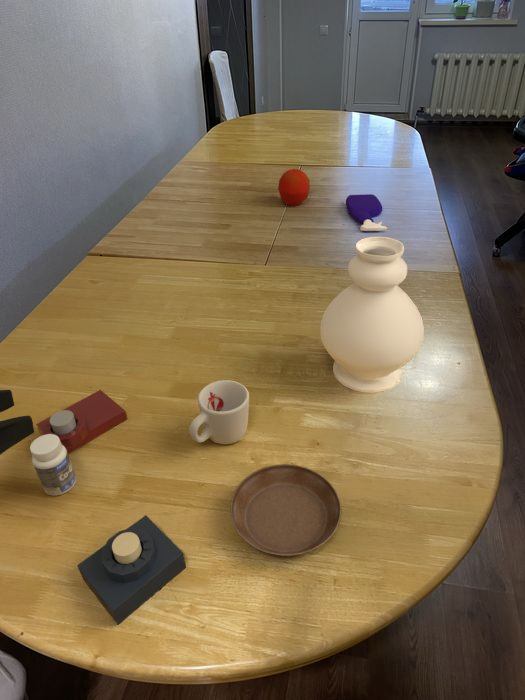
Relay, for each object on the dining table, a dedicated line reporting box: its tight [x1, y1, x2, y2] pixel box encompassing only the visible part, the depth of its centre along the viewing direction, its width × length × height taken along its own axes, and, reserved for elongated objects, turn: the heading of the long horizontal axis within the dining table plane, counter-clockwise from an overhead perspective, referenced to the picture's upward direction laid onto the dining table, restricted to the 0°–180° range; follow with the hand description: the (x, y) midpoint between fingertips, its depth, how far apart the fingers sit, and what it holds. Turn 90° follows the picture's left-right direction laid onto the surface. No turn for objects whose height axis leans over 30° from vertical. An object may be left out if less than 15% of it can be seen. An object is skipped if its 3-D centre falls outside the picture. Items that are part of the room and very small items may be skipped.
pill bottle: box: [29, 434, 77, 497], centre depth 74 cm, size 5×5×8 cm
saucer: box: [229, 463, 342, 557], centre depth 70 cm, size 15×15×3 cm
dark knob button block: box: [76, 514, 187, 626], centre depth 63 cm, size 10×8×5 cm
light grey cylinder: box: [50, 409, 77, 435], centre depth 81 cm, size 4×4×2 cm
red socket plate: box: [35, 389, 128, 455], centre depth 85 cm, size 13×9×4 cm
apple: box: [277, 168, 311, 207], centre depth 166 cm, size 10×10×12 cm
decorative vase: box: [319, 236, 425, 394], centre depth 89 cm, size 18×18×25 cm
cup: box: [189, 379, 250, 445], centre depth 81 cm, size 11×8×8 cm
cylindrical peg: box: [112, 532, 142, 564], centre depth 61 cm, size 3×3×2 cm
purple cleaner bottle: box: [345, 193, 388, 232], centre depth 157 cm, size 3×11×24 cm
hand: (21, 410), depth 62 cm, fingers open, 7 cm apart
